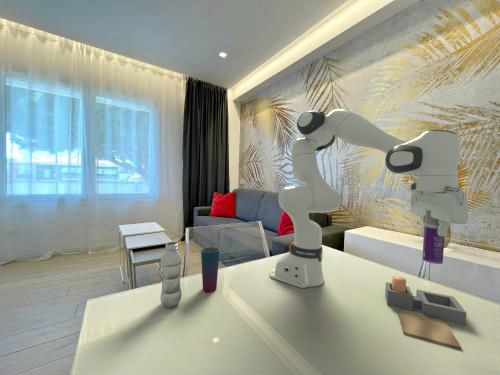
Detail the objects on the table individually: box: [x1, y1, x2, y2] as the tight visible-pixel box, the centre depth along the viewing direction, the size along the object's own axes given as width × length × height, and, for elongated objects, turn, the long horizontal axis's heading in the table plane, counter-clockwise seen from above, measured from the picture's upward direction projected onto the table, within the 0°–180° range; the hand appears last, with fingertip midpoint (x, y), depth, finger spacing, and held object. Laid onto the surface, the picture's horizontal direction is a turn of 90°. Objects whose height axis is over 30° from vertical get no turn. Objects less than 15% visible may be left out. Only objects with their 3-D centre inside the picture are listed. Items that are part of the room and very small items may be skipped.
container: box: [421, 210, 446, 265], centre depth 65 cm, size 5×5×15 cm
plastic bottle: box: [160, 241, 183, 308], centre depth 72 cm, size 6×7×20 cm
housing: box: [384, 281, 467, 327], centre depth 74 cm, size 20×10×5 cm, turn 64°
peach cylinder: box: [391, 275, 407, 293], centre depth 76 cm, size 4×4×8 cm
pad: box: [396, 308, 462, 351], centre depth 63 cm, size 12×12×1 cm
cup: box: [200, 246, 221, 294], centre depth 82 cm, size 7×7×15 cm
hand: (433, 233), depth 65 cm, fingers closed on container, 5 cm apart
